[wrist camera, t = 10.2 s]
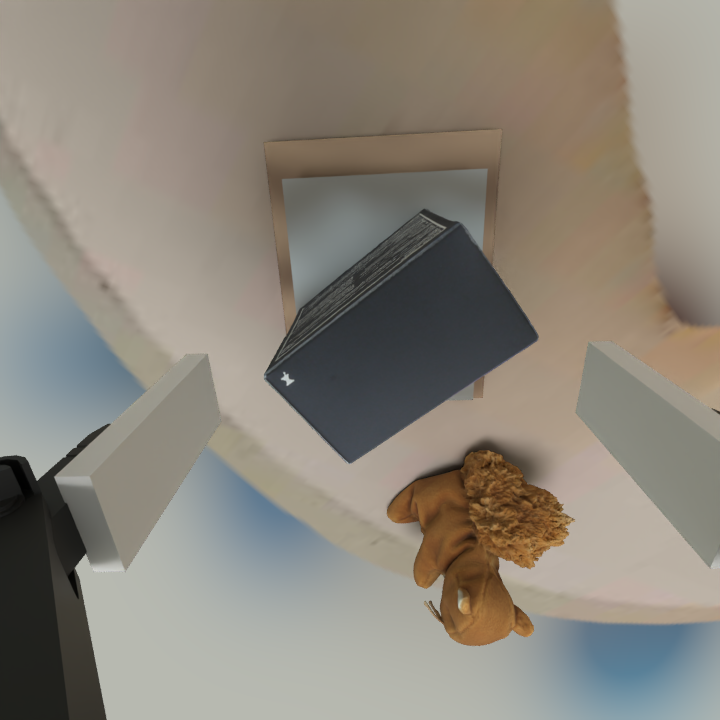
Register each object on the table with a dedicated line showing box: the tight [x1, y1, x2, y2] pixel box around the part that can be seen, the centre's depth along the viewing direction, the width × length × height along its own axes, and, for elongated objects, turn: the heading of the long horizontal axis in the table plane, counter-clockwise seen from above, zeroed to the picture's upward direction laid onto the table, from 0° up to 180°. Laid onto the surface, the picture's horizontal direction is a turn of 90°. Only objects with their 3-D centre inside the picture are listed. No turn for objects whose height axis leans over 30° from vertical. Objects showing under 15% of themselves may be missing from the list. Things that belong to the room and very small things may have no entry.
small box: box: [264, 209, 539, 464], centre depth 22 cm, size 11×6×10 cm, turn 129°
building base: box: [264, 129, 502, 400], centre depth 30 cm, size 20×16×6 cm
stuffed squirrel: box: [387, 450, 575, 646], centre depth 35 cm, size 10×14×13 cm
